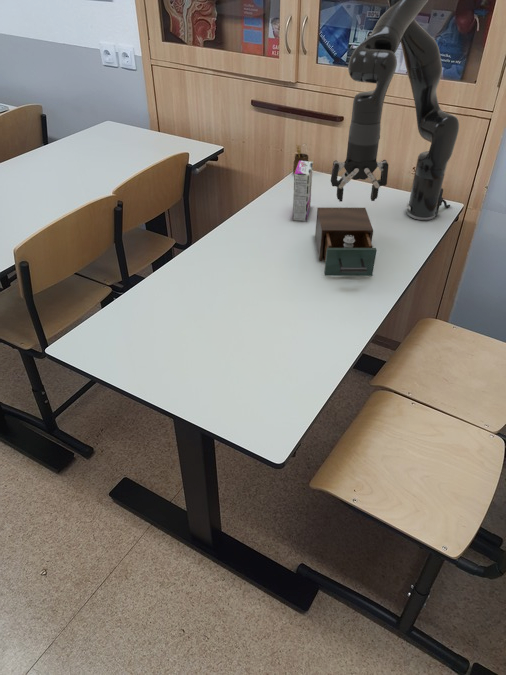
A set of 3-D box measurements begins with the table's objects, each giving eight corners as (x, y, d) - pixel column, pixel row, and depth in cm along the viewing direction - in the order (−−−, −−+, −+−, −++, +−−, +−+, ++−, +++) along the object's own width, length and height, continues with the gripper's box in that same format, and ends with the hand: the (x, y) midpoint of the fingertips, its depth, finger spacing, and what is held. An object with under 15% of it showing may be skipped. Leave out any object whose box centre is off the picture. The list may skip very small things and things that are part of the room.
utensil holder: (310, 172, 209) (313, 141, 202) (303, 177, 205) (305, 146, 198) (297, 169, 212) (299, 138, 204) (289, 174, 208) (291, 143, 200)
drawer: (375, 287, 145) (380, 260, 140) (326, 287, 145) (329, 260, 140) (364, 251, 160) (368, 226, 155) (320, 251, 160) (322, 226, 155)
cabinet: (368, 261, 158) (373, 230, 151) (319, 261, 158) (321, 230, 151) (361, 237, 169) (365, 207, 163) (314, 237, 169) (317, 207, 163)
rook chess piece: (352, 257, 155) (355, 232, 150) (355, 265, 152) (359, 240, 147) (337, 258, 155) (339, 233, 150) (340, 266, 152) (343, 241, 147)
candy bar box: (296, 206, 186) (298, 159, 176) (310, 207, 185) (313, 161, 175) (291, 220, 178) (293, 173, 167) (306, 222, 177) (309, 174, 166)
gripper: (389, 133, 135) (380, 193, 145) (333, 134, 135) (328, 194, 145) (395, 143, 129) (385, 206, 139) (336, 144, 129) (331, 206, 139)
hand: (356, 200), depth 142 cm, fingers open, 8 cm apart
